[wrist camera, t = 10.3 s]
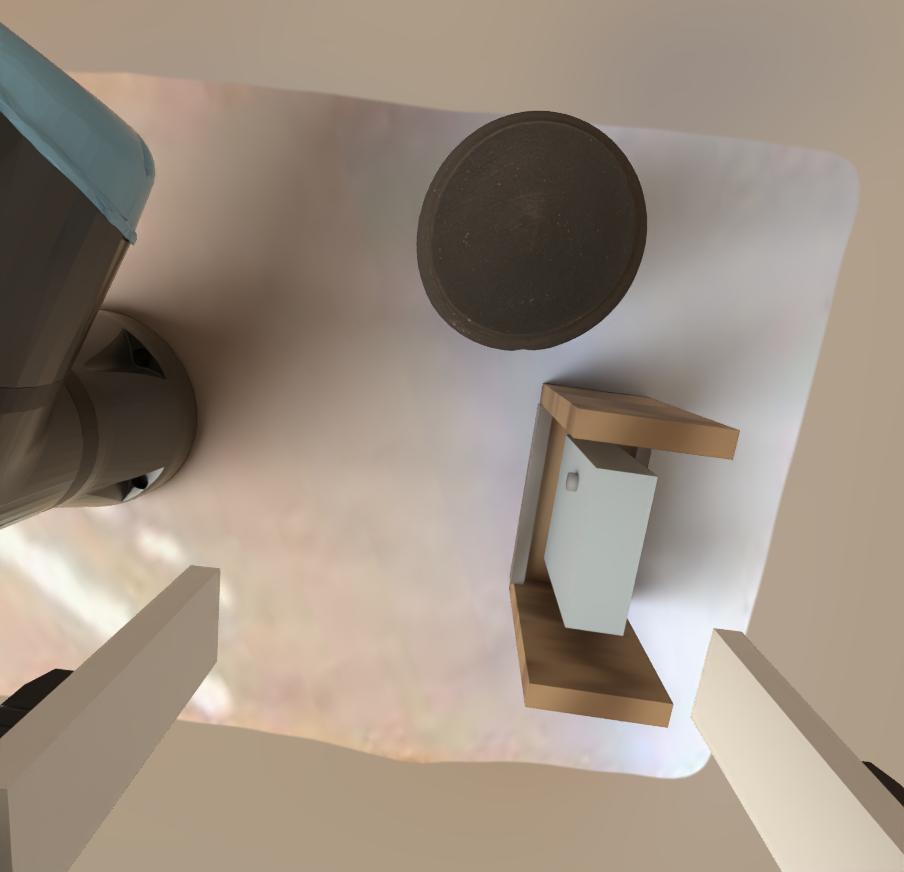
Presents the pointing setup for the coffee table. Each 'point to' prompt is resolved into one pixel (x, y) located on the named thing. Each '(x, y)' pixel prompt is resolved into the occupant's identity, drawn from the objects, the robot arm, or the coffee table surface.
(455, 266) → the container
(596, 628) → the door slab
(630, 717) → the brown cabinet body
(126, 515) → the coffee table surface
